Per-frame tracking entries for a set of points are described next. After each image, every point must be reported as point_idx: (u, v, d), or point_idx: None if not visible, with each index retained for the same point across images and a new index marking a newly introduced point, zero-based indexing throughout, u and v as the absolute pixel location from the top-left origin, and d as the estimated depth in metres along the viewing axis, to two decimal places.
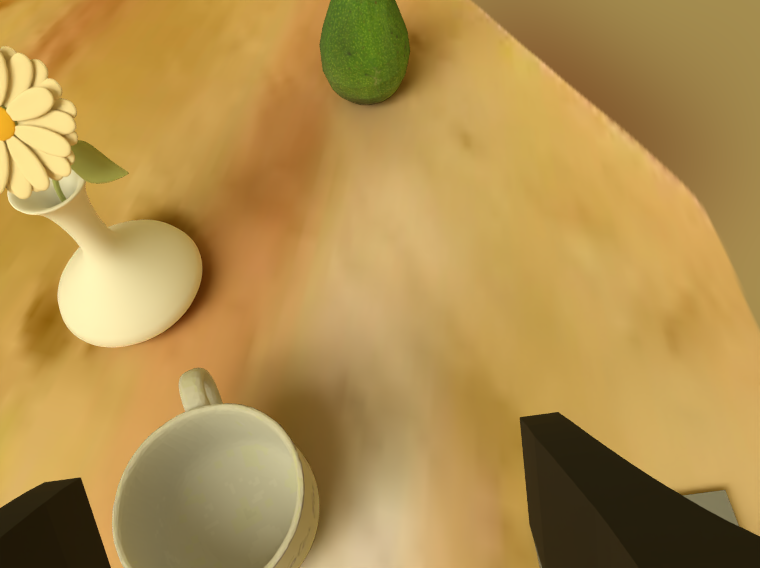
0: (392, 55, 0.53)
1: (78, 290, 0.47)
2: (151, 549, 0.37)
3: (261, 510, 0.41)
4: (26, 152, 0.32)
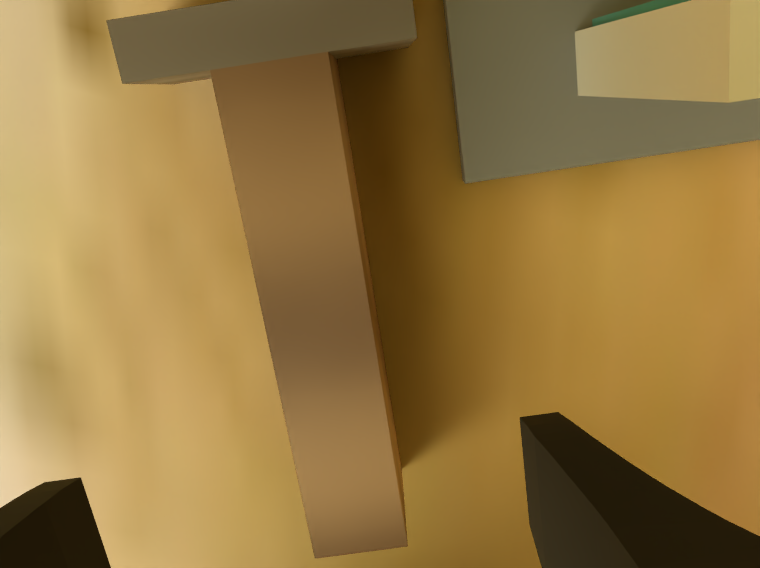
0: None
1: None
2: None
3: None
4: None
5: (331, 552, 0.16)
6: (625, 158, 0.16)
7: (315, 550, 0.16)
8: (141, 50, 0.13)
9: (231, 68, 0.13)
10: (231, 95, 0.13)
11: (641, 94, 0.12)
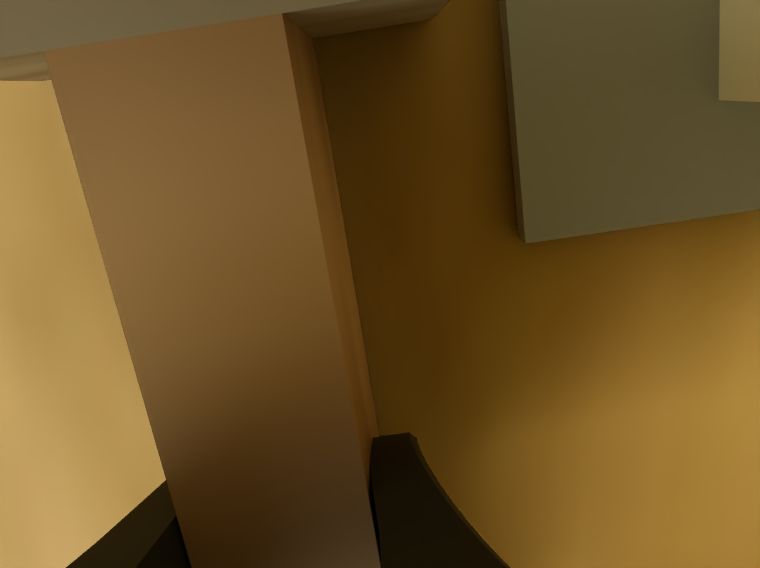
0: None
1: None
2: None
3: None
4: None
5: None
6: None
7: None
8: None
9: (86, 47, 0.06)
10: (88, 103, 0.06)
11: None
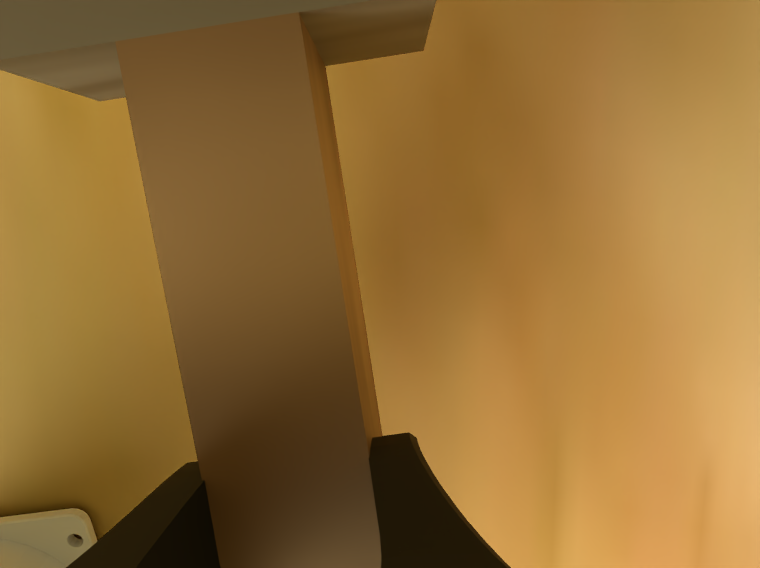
0: None
1: None
2: None
3: None
4: None
5: None
6: None
7: None
8: (10, 11, 0.08)
9: (148, 38, 0.08)
10: (147, 81, 0.08)
11: None
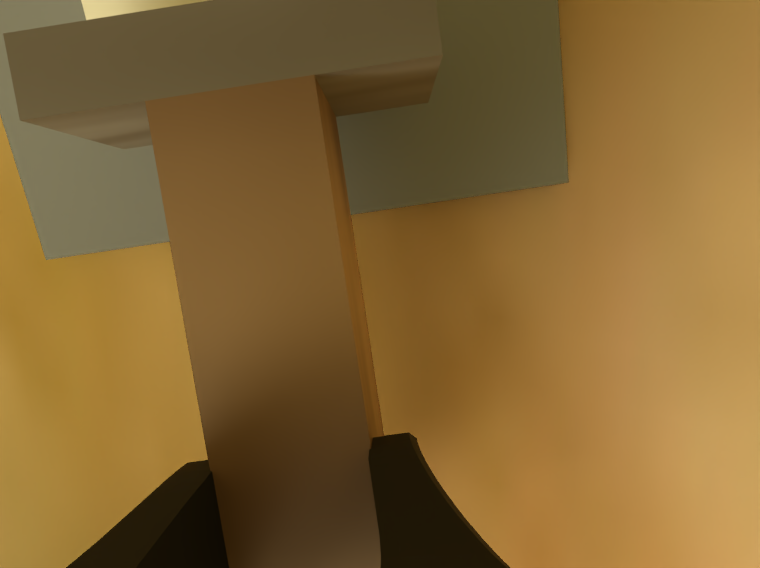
0: None
1: None
2: None
3: None
4: None
5: None
6: None
7: None
8: (49, 74, 0.09)
9: (175, 98, 0.09)
10: (173, 137, 0.09)
11: None
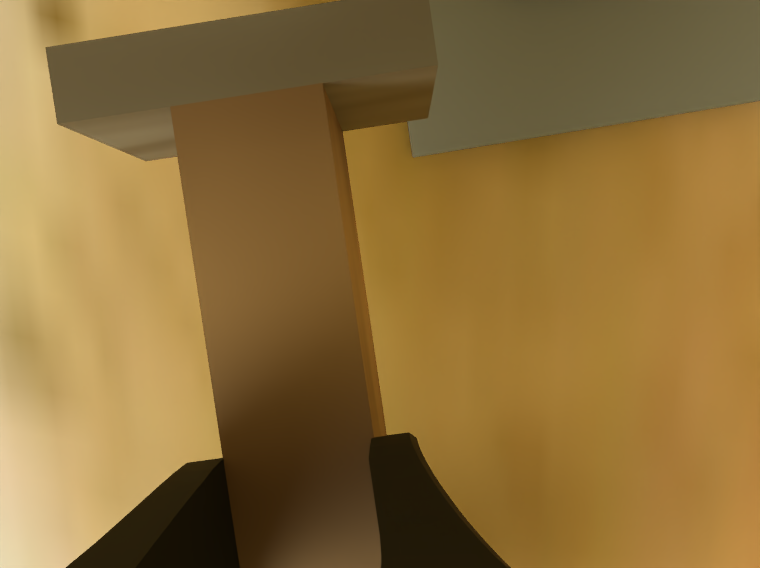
0: None
1: None
2: None
3: None
4: None
5: None
6: (562, 131, 0.17)
7: None
8: (85, 83, 0.10)
9: (197, 104, 0.10)
10: (195, 138, 0.10)
11: None
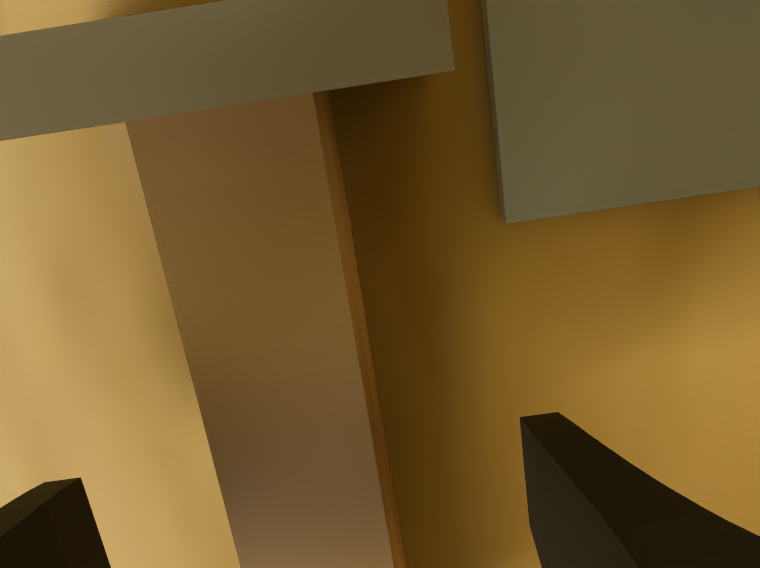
0: None
1: None
2: None
3: None
4: None
5: None
6: (737, 188, 0.11)
7: None
8: (14, 90, 0.08)
9: (159, 119, 0.08)
10: (159, 160, 0.08)
11: None
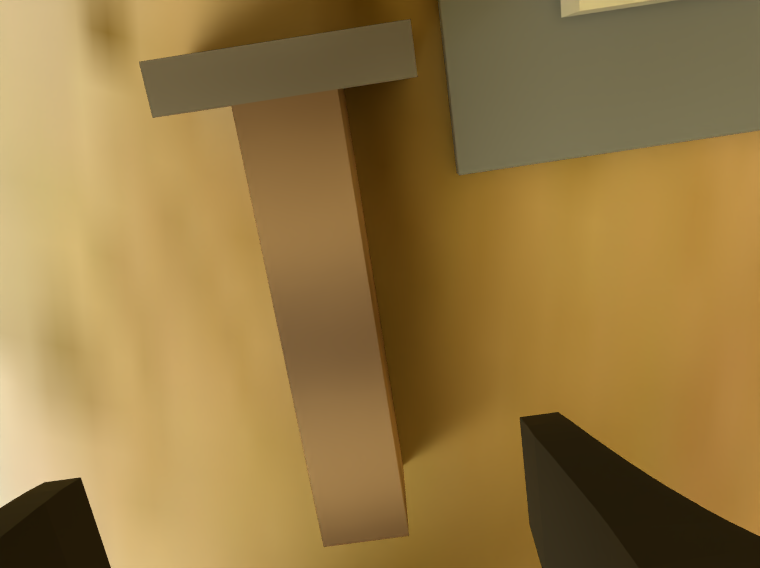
0: None
1: None
2: None
3: None
4: None
5: (339, 541, 0.18)
6: (607, 151, 0.18)
7: (324, 539, 0.18)
8: (170, 88, 0.14)
9: (250, 104, 0.14)
10: (249, 128, 0.14)
11: None
